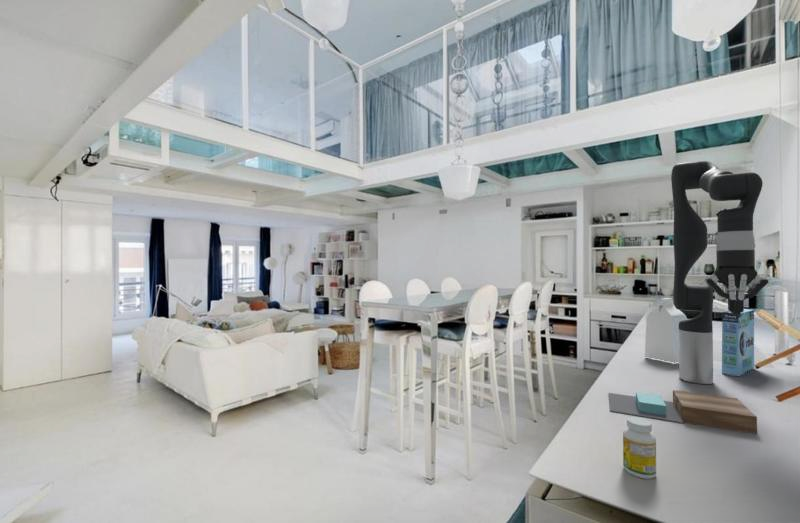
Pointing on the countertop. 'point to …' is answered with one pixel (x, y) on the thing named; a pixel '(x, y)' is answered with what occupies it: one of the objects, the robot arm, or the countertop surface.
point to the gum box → (737, 342)
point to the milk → (663, 331)
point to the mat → (630, 407)
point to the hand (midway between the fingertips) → (735, 313)
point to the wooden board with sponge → (714, 411)
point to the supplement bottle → (639, 448)
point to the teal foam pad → (650, 403)
